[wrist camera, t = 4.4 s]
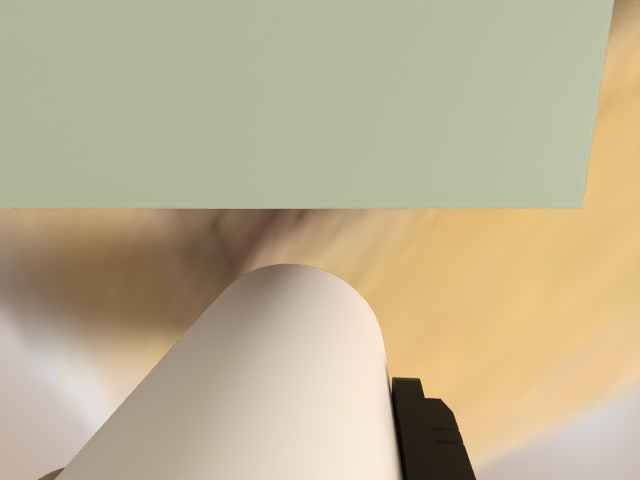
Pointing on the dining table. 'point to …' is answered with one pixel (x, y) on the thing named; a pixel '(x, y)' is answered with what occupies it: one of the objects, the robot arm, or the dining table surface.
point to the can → (260, 392)
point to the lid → (299, 103)
